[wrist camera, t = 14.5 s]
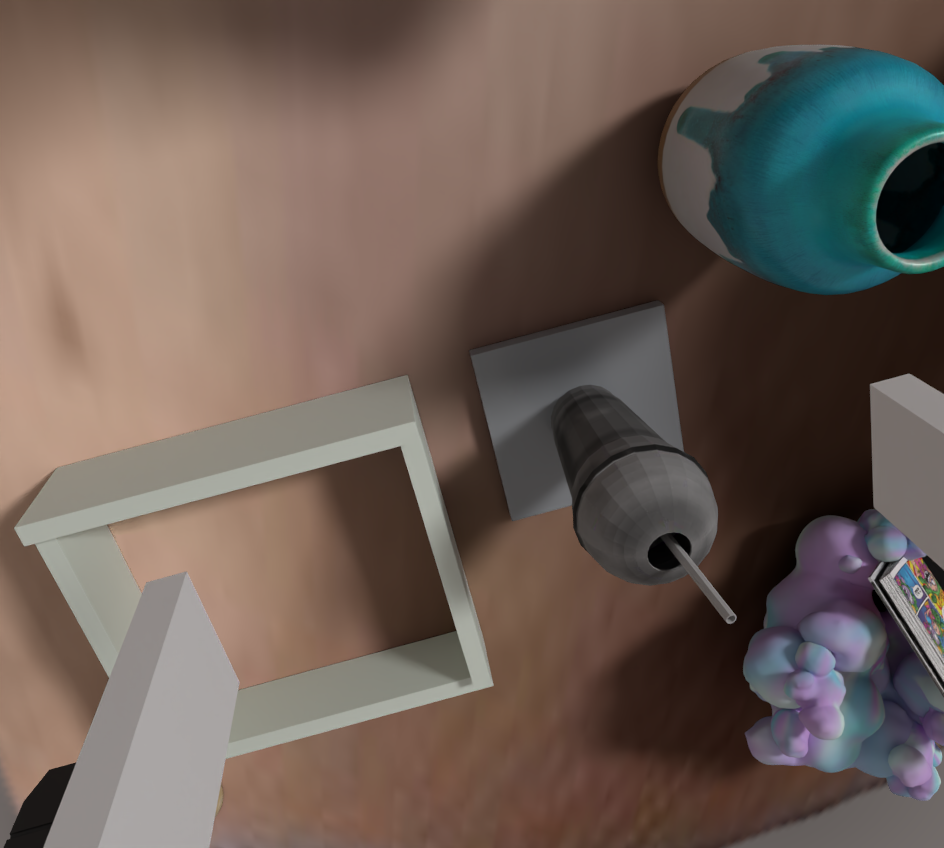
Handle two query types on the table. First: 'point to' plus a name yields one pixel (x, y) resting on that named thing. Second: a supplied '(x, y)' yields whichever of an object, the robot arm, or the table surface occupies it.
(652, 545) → the beverage cup
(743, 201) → the vase
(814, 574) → the pastel lumpy cloud blob
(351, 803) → the table surface
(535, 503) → the slate tile
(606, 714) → the table surface
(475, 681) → the frame
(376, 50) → the table surface
